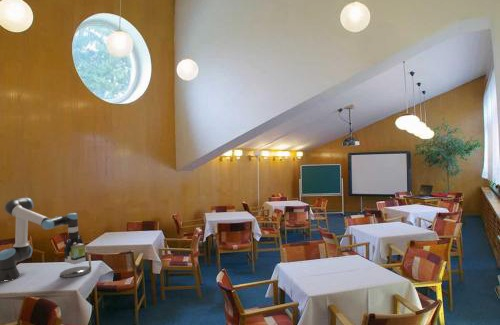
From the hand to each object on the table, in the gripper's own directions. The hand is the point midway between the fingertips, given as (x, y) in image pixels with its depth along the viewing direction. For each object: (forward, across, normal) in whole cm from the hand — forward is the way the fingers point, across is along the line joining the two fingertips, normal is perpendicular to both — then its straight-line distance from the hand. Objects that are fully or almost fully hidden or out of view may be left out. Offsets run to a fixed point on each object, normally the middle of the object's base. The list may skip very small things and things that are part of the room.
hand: (75, 257), depth 274 cm
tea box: (+4, 0, 0) cm, 4 cm away
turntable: (+13, 0, 0) cm, 13 cm away
